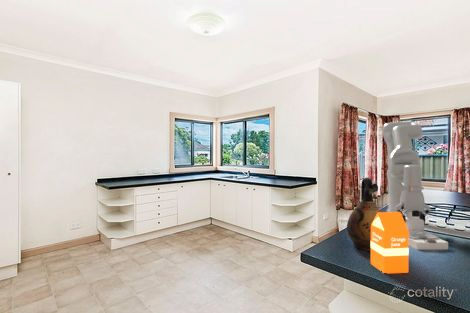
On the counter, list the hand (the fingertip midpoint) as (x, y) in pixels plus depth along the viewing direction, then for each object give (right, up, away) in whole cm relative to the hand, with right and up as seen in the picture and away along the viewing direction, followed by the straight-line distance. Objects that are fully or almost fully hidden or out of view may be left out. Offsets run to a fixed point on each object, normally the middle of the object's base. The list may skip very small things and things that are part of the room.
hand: (412, 222), depth 126 cm
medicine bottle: (0, -5, +1) cm, 5 cm away
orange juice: (-36, -6, -38) cm, 52 cm away
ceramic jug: (-33, -6, -18) cm, 38 cm away
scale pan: (-7, -2, -12) cm, 14 cm away
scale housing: (-7, -5, -14) cm, 17 cm away
